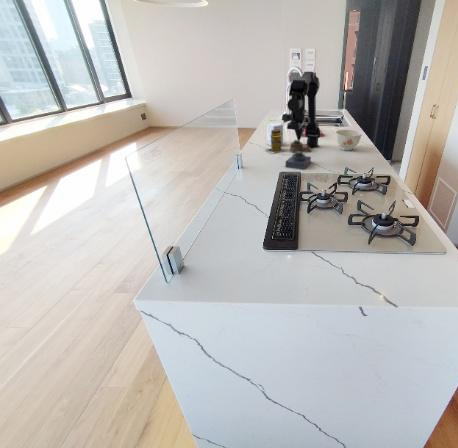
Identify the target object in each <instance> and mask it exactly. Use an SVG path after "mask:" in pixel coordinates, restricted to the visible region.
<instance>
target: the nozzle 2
mask: <svg viewBox="0 0 458 448" xmlns="http://www.w3.org/2000/svg"><path fill="white" fill-rule="evenodd" d="M294 154H295V156H296V157H301V156H302V154H303V152H301V151H296V152H295V153H294Z"/></svg>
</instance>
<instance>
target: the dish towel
mask: <svg viewBox="0 0 458 448" xmlns="http://www.w3.org/2000/svg"><path fill="white" fill-rule="evenodd" d="M320 133H321V137H324V132H322V131H321V130H320ZM301 137H306V135H305V130H304V132H303V134H302V136H301Z"/></svg>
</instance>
